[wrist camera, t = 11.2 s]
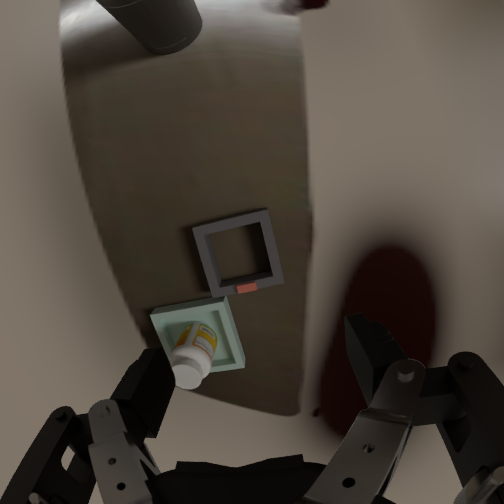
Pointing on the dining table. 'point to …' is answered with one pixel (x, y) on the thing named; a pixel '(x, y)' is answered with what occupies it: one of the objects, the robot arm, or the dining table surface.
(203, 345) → the supplement bottle
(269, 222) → the socket collar
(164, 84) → the dining table surface
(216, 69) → the dining table surface
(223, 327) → the tray
